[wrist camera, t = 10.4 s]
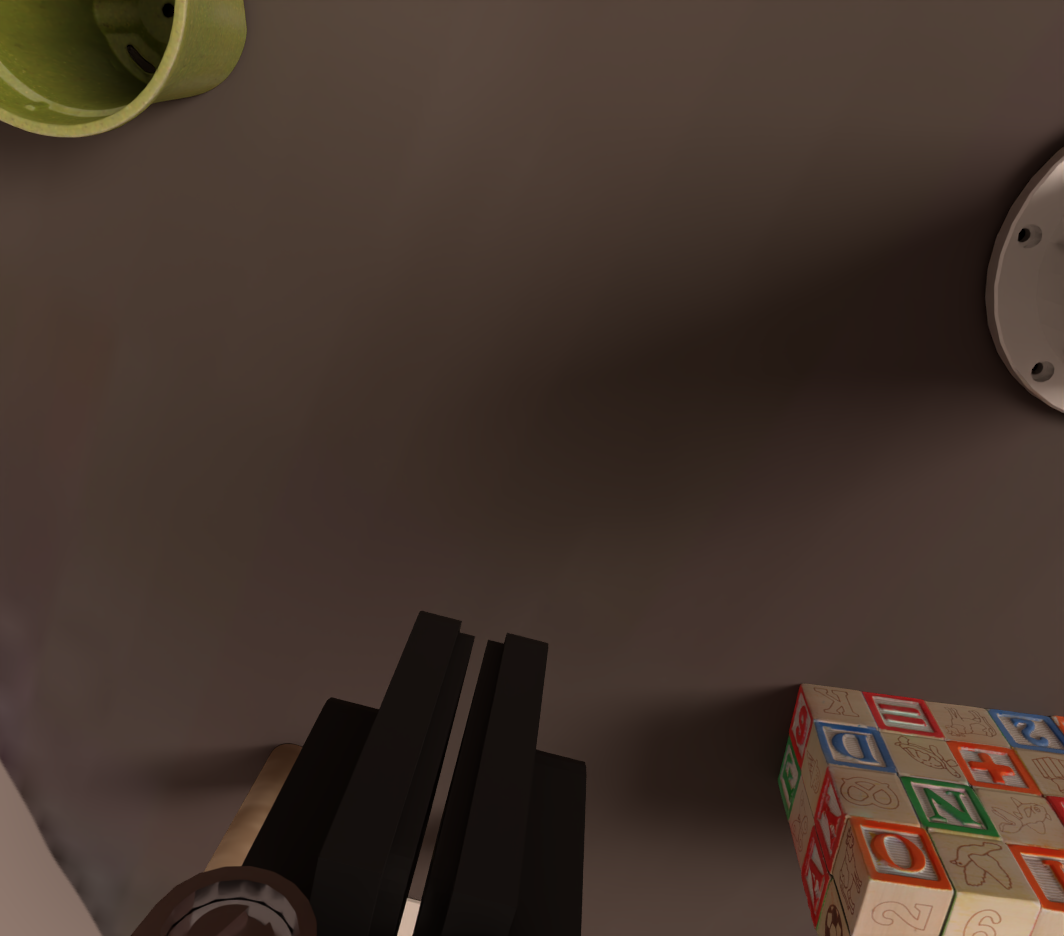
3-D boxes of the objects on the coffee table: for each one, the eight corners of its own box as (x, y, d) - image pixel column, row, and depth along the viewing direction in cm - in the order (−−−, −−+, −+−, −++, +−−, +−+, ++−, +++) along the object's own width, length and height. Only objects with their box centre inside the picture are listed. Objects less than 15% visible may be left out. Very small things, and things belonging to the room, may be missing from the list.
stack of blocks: (1242, 735, 40) (1496, 966, 29) (1195, 835, 43) (1413, 1087, 31) (796, 680, 41) (869, 882, 30) (772, 781, 44) (831, 1005, 32)
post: (319, 750, 45) (253, 886, 37) (312, 787, 46) (246, 928, 38) (272, 738, 45) (195, 872, 37) (266, 775, 46) (190, 914, 38)
